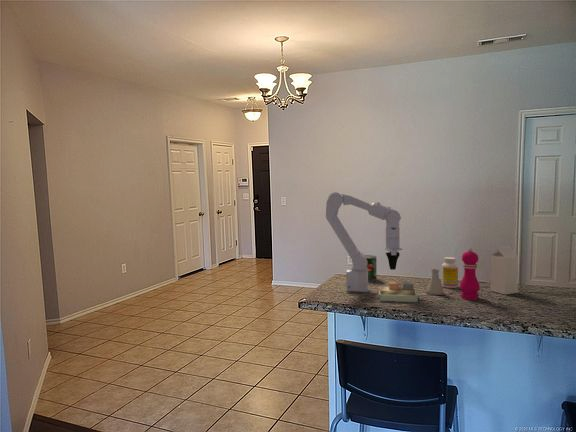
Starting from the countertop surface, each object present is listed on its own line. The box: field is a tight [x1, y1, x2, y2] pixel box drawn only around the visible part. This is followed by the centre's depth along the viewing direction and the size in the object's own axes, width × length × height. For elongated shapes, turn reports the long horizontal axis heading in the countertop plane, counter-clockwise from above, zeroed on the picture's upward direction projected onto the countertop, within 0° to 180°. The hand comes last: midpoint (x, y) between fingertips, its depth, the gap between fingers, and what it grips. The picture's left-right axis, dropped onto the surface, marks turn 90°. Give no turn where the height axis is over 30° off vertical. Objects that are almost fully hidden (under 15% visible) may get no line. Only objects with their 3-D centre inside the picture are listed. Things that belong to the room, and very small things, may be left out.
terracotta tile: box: [388, 281, 400, 290], centre depth 169 cm, size 4×4×2 cm
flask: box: [425, 268, 445, 296], centre depth 171 cm, size 7×7×10 cm
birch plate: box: [378, 285, 416, 296], centre depth 169 cm, size 14×8×2 cm, turn 80°
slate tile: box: [401, 281, 414, 290], centre depth 169 cm, size 4×4×2 cm
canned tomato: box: [364, 254, 378, 282], centre depth 199 cm, size 8×8×11 cm
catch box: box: [378, 290, 419, 303], centre depth 162 cm, size 15×6×2 cm, turn 80°
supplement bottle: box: [441, 256, 459, 289], centre depth 181 cm, size 7×7×13 cm
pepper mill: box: [459, 247, 481, 301], centre depth 162 cm, size 7×7×20 cm
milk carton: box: [490, 245, 519, 295], centre depth 170 cm, size 7×7×19 cm
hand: (392, 269), depth 176 cm, fingers closed
